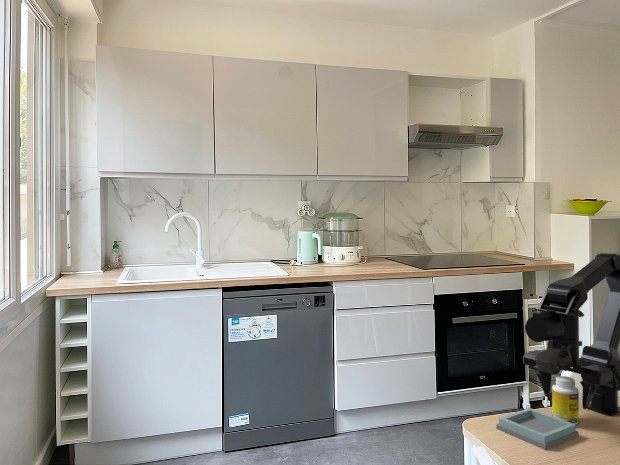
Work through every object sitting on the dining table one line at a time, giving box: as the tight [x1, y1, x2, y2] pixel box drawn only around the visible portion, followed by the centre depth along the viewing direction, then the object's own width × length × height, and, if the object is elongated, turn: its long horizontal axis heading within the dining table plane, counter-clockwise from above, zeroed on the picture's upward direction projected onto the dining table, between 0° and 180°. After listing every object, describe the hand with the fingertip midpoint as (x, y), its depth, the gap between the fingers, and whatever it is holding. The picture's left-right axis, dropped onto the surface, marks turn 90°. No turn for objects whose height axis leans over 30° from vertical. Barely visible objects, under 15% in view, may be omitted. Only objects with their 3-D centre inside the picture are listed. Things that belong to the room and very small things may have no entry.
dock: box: [495, 407, 579, 451], centre depth 105 cm, size 12×12×2 cm
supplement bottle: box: [551, 375, 580, 425], centre depth 111 cm, size 6×6×10 cm
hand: (565, 402), depth 111 cm, fingers open, 9 cm apart
